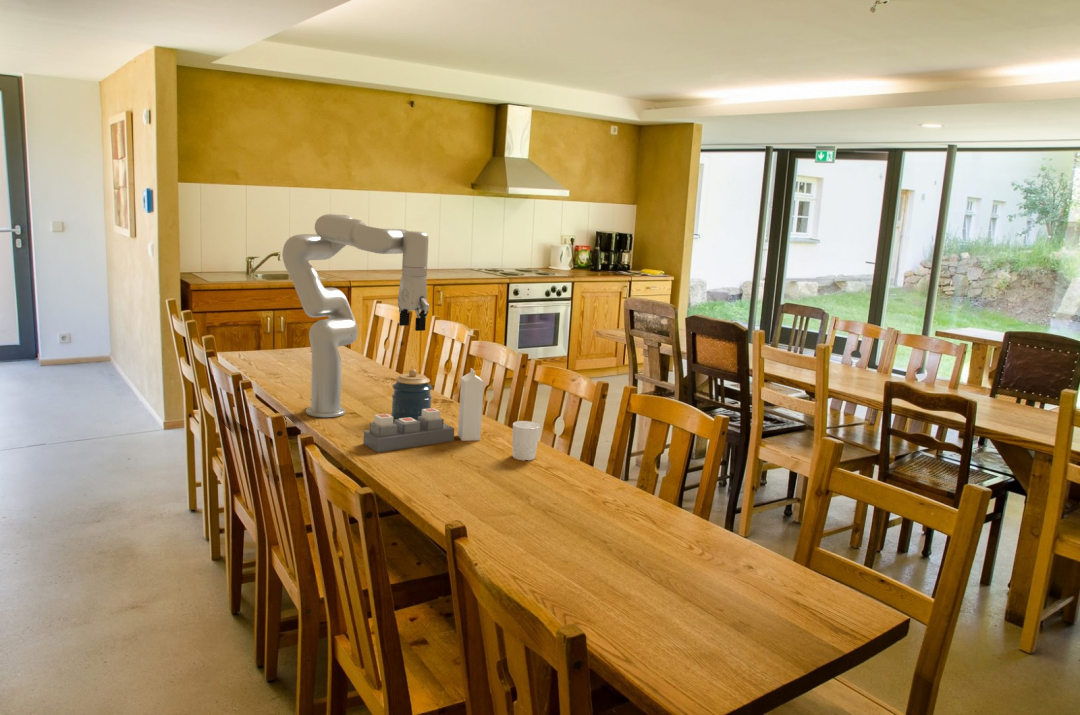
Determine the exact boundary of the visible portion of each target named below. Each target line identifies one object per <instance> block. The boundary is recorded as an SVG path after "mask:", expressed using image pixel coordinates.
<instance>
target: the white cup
mask: <svg viewBox="0 0 1080 715" xmlns="http://www.w3.org/2000/svg"><path fill="white" fill-rule="evenodd" d="M540 426H541V425H540V424H539V423H537V422H536V421H535V422H534V421H531V420H530V421H529V420H518V421H514V422H513V423H512V457H513V458H514V459H516V460H519V461H525V460H528V461H533V460H535V459H536V453H537V449H538V444H539V436H540Z"/></svg>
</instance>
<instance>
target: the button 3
mask: <svg viewBox="0 0 1080 715" xmlns="http://www.w3.org/2000/svg"><path fill="white" fill-rule="evenodd" d="M421 418H423V419H425V420H427V421H432V420H439V419H440V418H441V411H440V410H438V409H436V408H434V407H432V408H428V409H422V417H421Z"/></svg>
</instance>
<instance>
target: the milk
mask: <svg viewBox="0 0 1080 715" xmlns="http://www.w3.org/2000/svg"><path fill="white" fill-rule="evenodd" d="M484 384H485V382H484V380H482V379H481V377H480V376H478V375H476V371H475V370H474V368H471V367H470V372H468V373H467V374H465V375H463V376H462V377H460V393H459V410H458V427H457V436H458V437H459V438H460V441H462V442H463V441H465V442H466V441H469V442H470V441H471V442H472V441H481V436H482V435H481V434H482V433H481V432H482V419H483V418H482V417H483V401H484V388H485V387H484Z"/></svg>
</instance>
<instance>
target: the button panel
mask: <svg viewBox="0 0 1080 715" xmlns="http://www.w3.org/2000/svg"><path fill="white" fill-rule="evenodd" d="M421 417H422V416H419V417H417V423H409V424H403V423H401V422H399V421H398V419H396V420H394V422H393V426H387V427H378V426H376V425H375V424H374V422H369V429H368V430H364V431H363V443H362V444H363V445H364V446H366V447H368V448H369V449H371V450H373V451H374V452H375V453H384V452H391V451H396V450H403V449H404V450H405V449H409V448H415V447H422V446H428V445H435V444H441V443H442V444H443V443H447V442H454V440H455V427H453V426H452V425H449V424H446V423H444V418H442V417H440V419H439V420H432V421H427V420H425V419H423V418H421Z"/></svg>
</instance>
